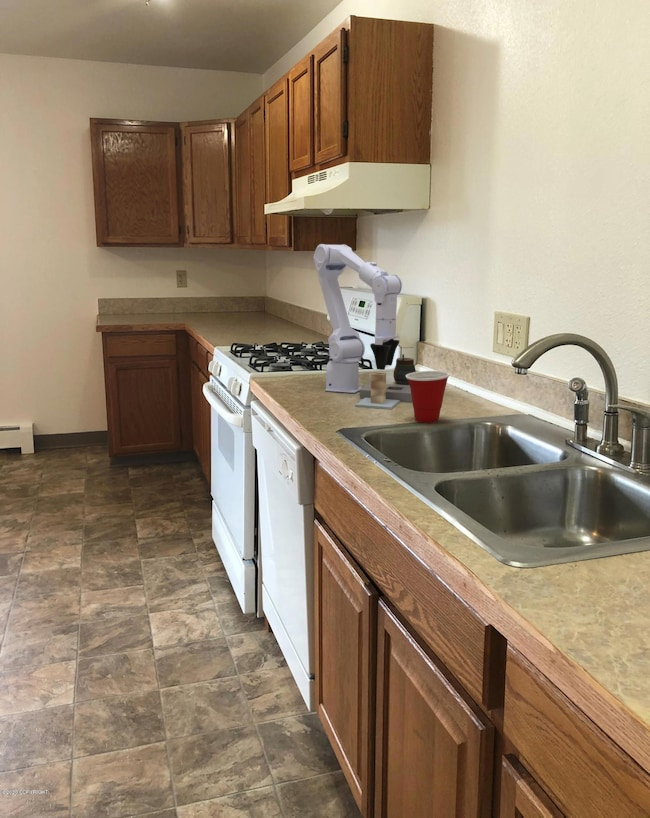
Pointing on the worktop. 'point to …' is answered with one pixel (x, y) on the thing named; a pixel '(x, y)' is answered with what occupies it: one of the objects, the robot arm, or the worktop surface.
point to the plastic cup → (427, 394)
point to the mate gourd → (403, 369)
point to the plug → (378, 388)
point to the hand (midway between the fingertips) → (384, 367)
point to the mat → (386, 405)
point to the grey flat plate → (390, 392)
